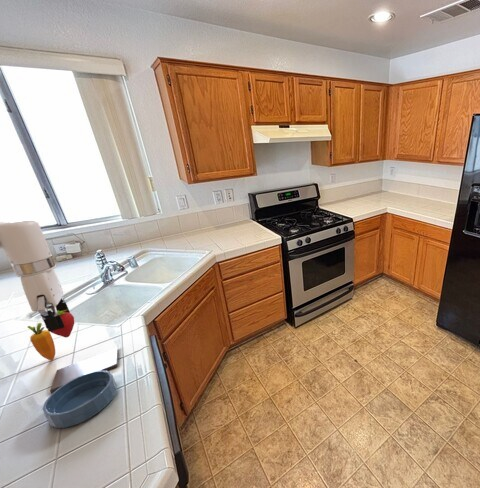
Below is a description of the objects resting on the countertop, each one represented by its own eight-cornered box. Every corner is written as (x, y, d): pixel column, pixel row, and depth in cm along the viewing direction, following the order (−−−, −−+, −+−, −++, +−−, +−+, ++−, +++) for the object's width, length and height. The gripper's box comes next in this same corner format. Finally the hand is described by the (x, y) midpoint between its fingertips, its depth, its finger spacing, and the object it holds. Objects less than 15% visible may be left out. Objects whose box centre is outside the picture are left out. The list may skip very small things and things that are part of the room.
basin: (44, 441, 64) (36, 426, 63) (56, 400, 75) (49, 387, 74) (117, 407, 72) (111, 393, 70) (118, 375, 83) (113, 362, 82)
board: (51, 393, 78) (49, 390, 78) (58, 372, 86) (56, 370, 85) (117, 366, 87) (116, 363, 86) (118, 350, 94) (117, 347, 94)
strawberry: (54, 348, 72) (39, 317, 69) (51, 337, 77) (38, 308, 74) (82, 337, 77) (69, 307, 73) (78, 327, 81) (66, 299, 78)
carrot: (38, 363, 90) (19, 327, 86) (56, 353, 95) (39, 318, 90) (47, 366, 89) (28, 329, 84) (65, 356, 93) (48, 320, 88)
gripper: (25, 260, 74) (49, 313, 80) (1, 281, 61) (33, 343, 66) (61, 253, 78) (81, 305, 84) (46, 272, 65) (72, 331, 70)
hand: (60, 321), depth 75 cm, fingers closed on strawberry, 7 cm apart
